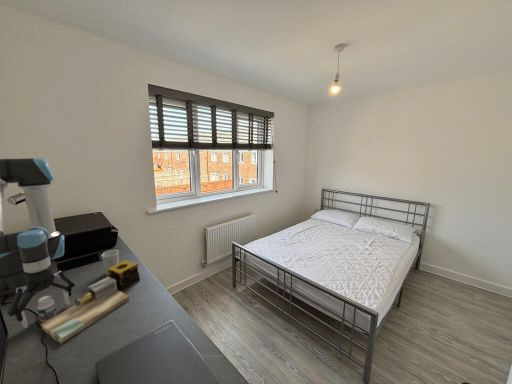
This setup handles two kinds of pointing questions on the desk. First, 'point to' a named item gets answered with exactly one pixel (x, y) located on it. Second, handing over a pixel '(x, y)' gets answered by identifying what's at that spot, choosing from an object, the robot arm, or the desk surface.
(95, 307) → the wooden base board
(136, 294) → the desk surface
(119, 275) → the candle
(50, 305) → the pill bottle
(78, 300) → the pin
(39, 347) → the desk surface
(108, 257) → the cup
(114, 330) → the desk surface
